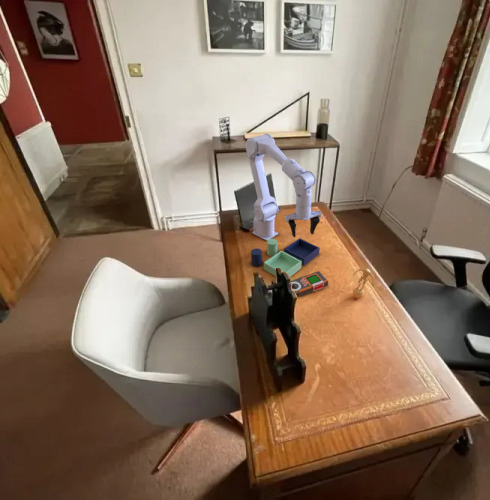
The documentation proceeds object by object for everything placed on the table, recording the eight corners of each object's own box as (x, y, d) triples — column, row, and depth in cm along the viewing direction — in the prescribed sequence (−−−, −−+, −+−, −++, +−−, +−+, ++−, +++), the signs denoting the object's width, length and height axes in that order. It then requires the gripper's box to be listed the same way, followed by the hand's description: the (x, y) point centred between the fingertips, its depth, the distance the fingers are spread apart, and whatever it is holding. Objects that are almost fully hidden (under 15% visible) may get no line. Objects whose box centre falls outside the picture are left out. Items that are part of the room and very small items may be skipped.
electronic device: (285, 282, 116) (319, 269, 122) (285, 288, 118) (319, 275, 123) (293, 294, 112) (329, 280, 117) (293, 299, 113) (328, 286, 119)
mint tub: (263, 269, 126) (263, 262, 124) (281, 257, 133) (281, 250, 131) (284, 281, 120) (284, 274, 118) (301, 268, 127) (301, 261, 125)
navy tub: (283, 255, 134) (284, 248, 132) (299, 244, 140) (299, 238, 138) (303, 266, 128) (304, 259, 126) (319, 254, 135) (319, 247, 133)
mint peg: (264, 253, 135) (264, 241, 131) (271, 248, 137) (271, 237, 134) (272, 257, 132) (272, 245, 129) (279, 252, 135) (279, 241, 131)
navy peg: (249, 263, 129) (248, 251, 125) (256, 258, 131) (256, 247, 128) (256, 268, 126) (256, 256, 123) (264, 263, 129) (264, 251, 126)
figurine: (344, 293, 116) (349, 268, 109) (353, 286, 119) (359, 261, 112) (364, 305, 111) (370, 280, 104) (373, 297, 115) (380, 272, 108)
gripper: (288, 210, 116) (288, 242, 123) (325, 205, 119) (323, 236, 126) (283, 203, 121) (283, 233, 129) (318, 198, 124) (317, 228, 132)
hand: (302, 234), depth 128 cm, fingers open, 7 cm apart
